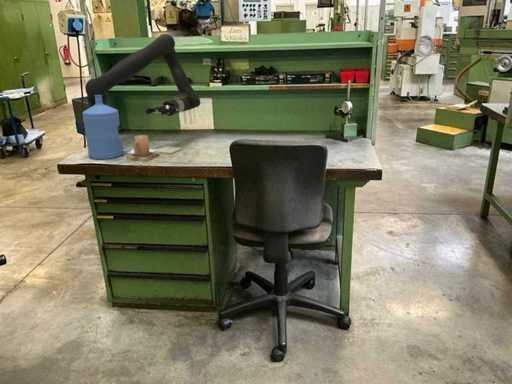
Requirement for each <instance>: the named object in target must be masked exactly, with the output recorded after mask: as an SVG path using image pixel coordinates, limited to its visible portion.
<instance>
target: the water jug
mask: <svg viewBox="0 0 512 384" xmlns="http://www.w3.org/2000/svg"><path fill="white" fill-rule="evenodd" d="M94 96H95V102H96V104H95V105H94V106H92V107H90V108H89V107H88V108H87V109H86V110H83V112H82V120H83V125H84V132H85V140H86V145H87V151H88V152H87V153H88V155H87V156H88V157H89V158H90V159H93V160H110V159H114V158H115V159H116V158H119V157H120V156H122V155H124V148H123V142H122V138H121V137H119V136H120V135H119V126H120V125H121V124H120V115H119V110H118V109H116V108H114V107H112V106H109V105H108V104H107V105H108V106H107V105H104V104H103V101H102V95H94Z"/></svg>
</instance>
